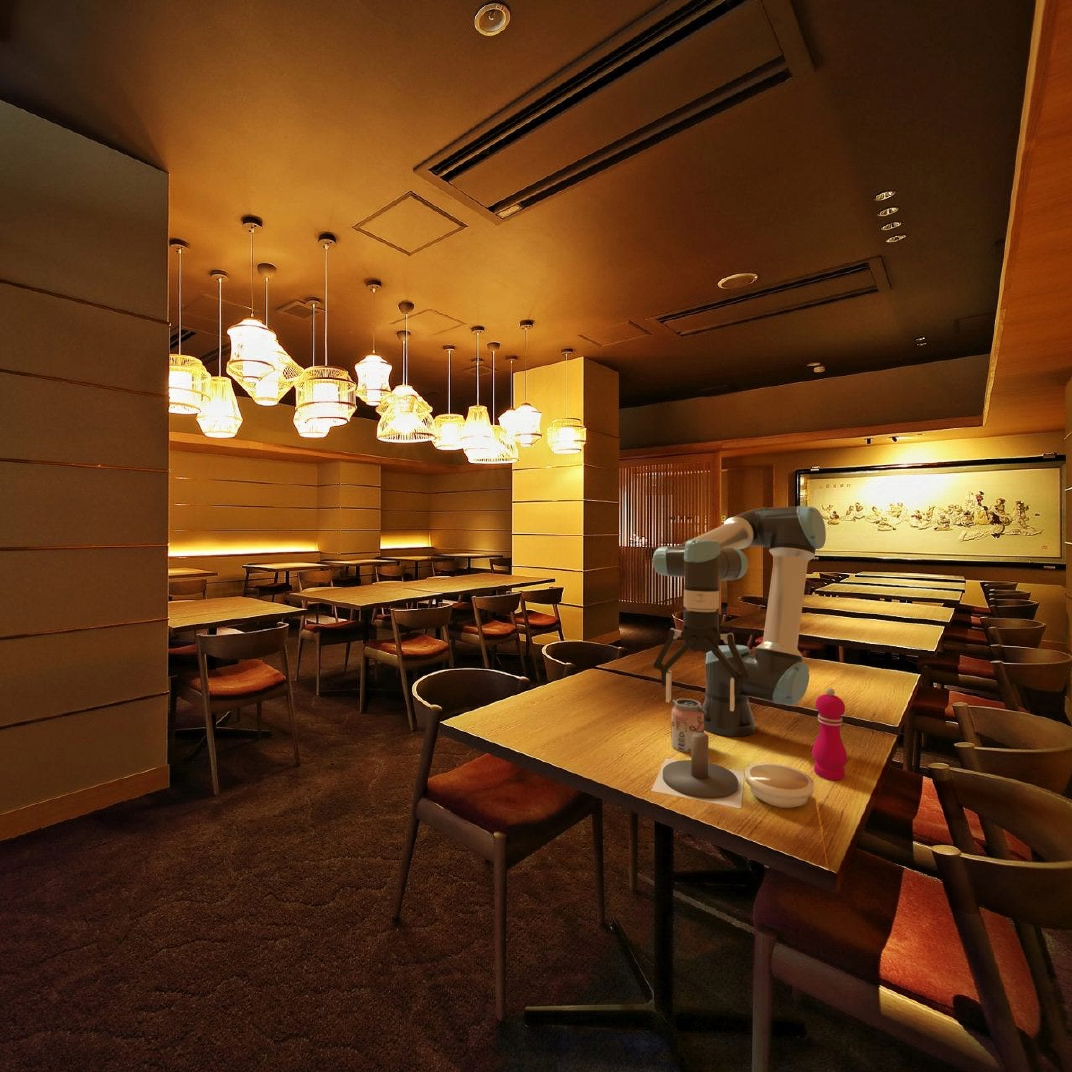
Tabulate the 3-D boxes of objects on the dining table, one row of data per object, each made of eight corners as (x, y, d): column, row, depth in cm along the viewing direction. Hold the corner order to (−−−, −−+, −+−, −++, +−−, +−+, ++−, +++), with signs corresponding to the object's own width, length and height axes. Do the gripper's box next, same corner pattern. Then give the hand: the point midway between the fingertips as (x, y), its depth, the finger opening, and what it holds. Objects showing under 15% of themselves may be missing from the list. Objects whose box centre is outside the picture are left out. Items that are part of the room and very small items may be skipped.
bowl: (746, 781, 121) (746, 758, 121) (811, 792, 116) (811, 769, 116) (743, 808, 109) (744, 783, 109) (815, 822, 104) (816, 796, 104)
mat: (665, 760, 132) (665, 758, 132) (744, 774, 125) (744, 771, 125) (650, 793, 115) (650, 790, 115) (740, 811, 108) (740, 808, 108)
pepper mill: (835, 767, 128) (836, 683, 128) (854, 781, 121) (855, 693, 121) (805, 767, 128) (806, 683, 128) (822, 781, 121) (823, 693, 121)
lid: (669, 760, 130) (669, 718, 130) (739, 772, 124) (740, 728, 124) (656, 789, 116) (656, 742, 116) (735, 805, 109) (736, 755, 109)
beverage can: (680, 738, 146) (680, 694, 145) (711, 746, 140) (711, 700, 140) (665, 749, 138) (665, 702, 138) (696, 758, 133) (697, 710, 133)
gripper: (641, 607, 121) (639, 701, 121) (761, 615, 111) (760, 718, 111) (648, 603, 128) (646, 693, 128) (762, 611, 118) (760, 707, 118)
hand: (699, 705), depth 119 cm, fingers open, 13 cm apart
